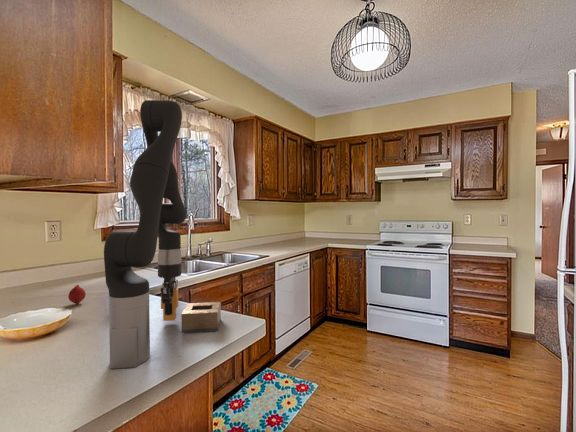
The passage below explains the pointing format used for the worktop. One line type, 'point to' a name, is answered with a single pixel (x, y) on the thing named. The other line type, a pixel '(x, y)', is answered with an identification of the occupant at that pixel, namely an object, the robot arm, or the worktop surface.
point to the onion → (76, 294)
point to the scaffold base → (201, 317)
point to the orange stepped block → (174, 306)
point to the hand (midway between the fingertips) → (169, 312)
